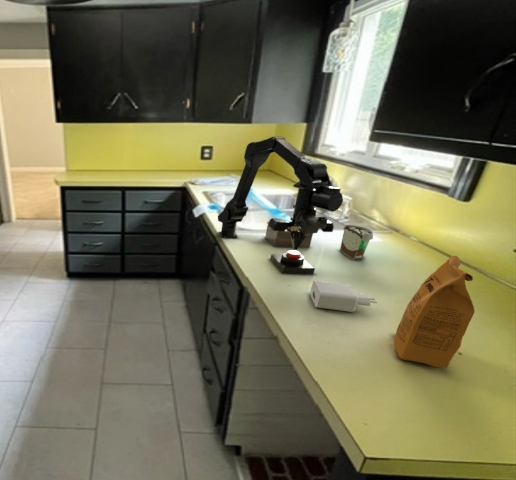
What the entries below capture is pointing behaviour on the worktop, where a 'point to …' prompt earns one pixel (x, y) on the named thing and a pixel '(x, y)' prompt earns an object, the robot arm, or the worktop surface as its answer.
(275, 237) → the chest
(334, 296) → the charger
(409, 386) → the worktop surface
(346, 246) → the food container
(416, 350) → the coffee package
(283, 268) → the button box
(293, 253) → the button
